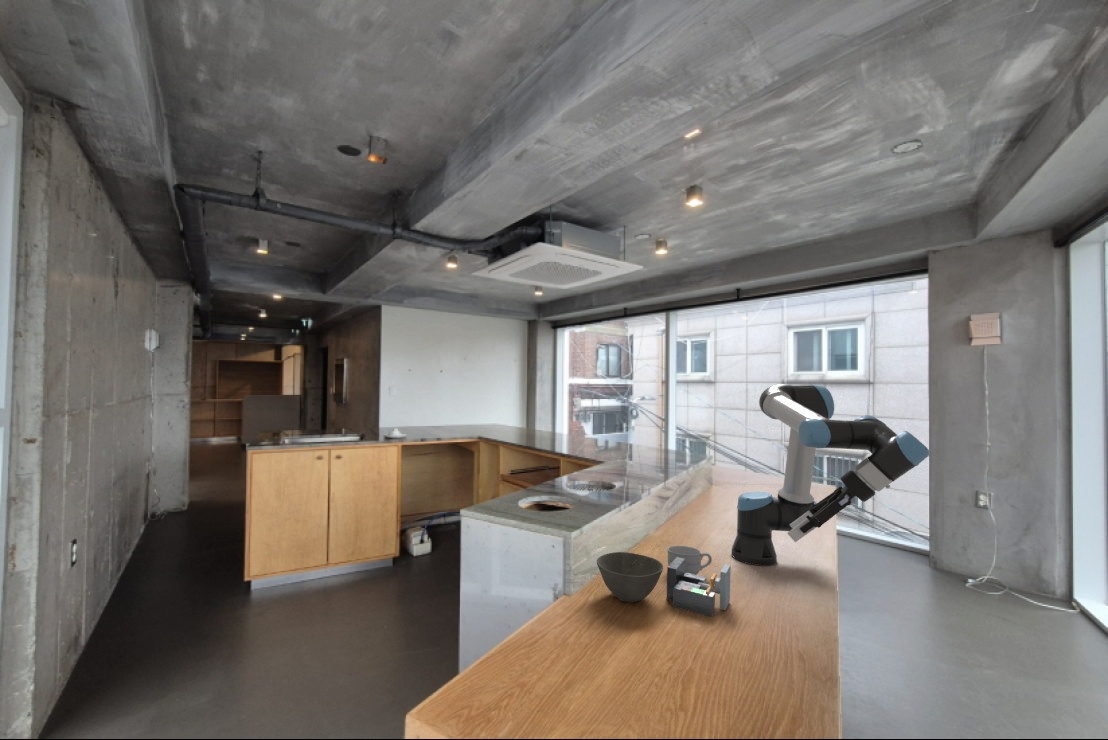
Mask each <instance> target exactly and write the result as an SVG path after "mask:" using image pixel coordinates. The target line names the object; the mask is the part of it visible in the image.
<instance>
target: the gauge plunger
mask: <svg viewBox="0 0 1108 740" xmlns="http://www.w3.org/2000/svg"><path fill="white" fill-rule="evenodd" d="M719 574H720V575H719V577H716V578H715V585H714V586H713V587H712V588H711V590H710V592H714V593H715V594H718V595H719V610H723V611H726V610H727V607H728V605H729V603H730V601H731V564H727V563H724V565H723V567H722V569H721V570H720V573H719ZM698 585H701V589H702V590H707V589H708V587H709V585H710V584H708V583H706V584H704V583H700V582H699V583H698Z"/></svg>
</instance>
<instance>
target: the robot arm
mask: <svg viewBox="0 0 1108 740" xmlns="http://www.w3.org/2000/svg"><path fill="white" fill-rule="evenodd" d="M758 405H759V407H760V410H761V412H762V413H763V414H765V416H767V417H768V418H770V419H771V420H778V421H780V422H782V423H783V424H785V426H787V427H789V428H790V430H789V438H788V439H789V440H788V448H787V453H786V454H787V455H786V461H785V462H786V464H785V471H784V480H783V486H782V488H781V489H779V490H777V497H773V495H772V494H771V493H770V492H766V491H749V492H743V493H742V494H740V495H739V496H738V499H737V500H738V501H737V506H736V510H737V514H736V515H737V521H736V522H737V524H736V526H737V527H736V536H735V539H734V541H733V545H732V546H731V547H732V548H731V556H732V555H733V556H734V557H735V558H736V559H735V558H734V557H733V556H732V557H733V558H734V559H735V560H737V559H738V561H739V560H740V561H739V562H742V561H743V563H745V562H746V563H745V564H749V565H754V566H763V567H765V566H766V567H767V566H774V565H776V564H777V561H778V560H777V552H776V549H775V546H774V543H773V538H772V534H773V533H772V532H773V531H775V532H776V531H777V532H787V533H786V534H787V535H788V536H789V537H790V539H791V540H792V541H793V542H794V543H797V542H798V541H799V540H801V539H802V538H804V537H805V536H806V535H808V534H809V533H811V532H812V531H814V530H815V529H816V528H818V529H819V528H821V527H822V526H823V525H824V524H826V523H827V522H828V521H830V520H831V519H832V518H833V517H834V516H835V515H837V514H838V513H840V512H841V511H842V510H843V509H845V508H847V507H848V506H851V504H852V499H854V497H857V498H858V499H859V500H860V501H862V502H863V503H864V502H868V501H869V500H870V499H871V498H873V497H874V496H876V492H881V491H882V490H883V489H885V488H886V489H889V488H891V484H892V483H894V482H895V481H896V480H898V479H899V478H900V477H902V476H903V475H905V474H907V473H908V472H909V471H911V470H913V469H914V468H915V467H917V466H919V465H920V464H921V463H922V462H923V461H924V460H926V458H928V457H929V456H930V453H931V451H930V450H929V448H928V447H927V446H926V445H925V444H924V443H923V442H922V441H920V440H919V439H918V438H917V437H916V436H914V435H913V434H912V433H910V432H909V431H907V430H903V431H901V432H900V433H896V432H894V430H893V429H892V428H890V427H889V426H887V424H886V423H885V422H883V421H882V420H880V419H878V418H877V417H875V416H873V415H867V414H865V415H861V416H859V417H856V418H855V419H854V420H841V419H831V418H832V417H833V415H834V413H835V400H834V397H833V395H832V393H831V392H830V390H829V389H828V388H827V387H825V386H823V385H815V384H799V383H798V384H796V383H795V384H791V383H790V384H789V383H787V384H786V383H778V384H774V385H771V386H769V387H767V388H766V389H764V391H763V392H762V393H761V394H760V396H759V399H758ZM817 449H839V450H840V449H841V450H862V451H863V450H864V451H865V450H867V451H869V452H870V453H871V455H869V456H867V457H866V458H864V459H863V460H862V461H860V462H858V463H857V464H856V465H855V466H854V467H853V469H850V470H849V471H847V472H846V473H845V474H843V475H842V476H840V481H841V483H843V485H844V486H843V487H842V486H838V487H837V488H835V489H834V491H832V492H831V493H830V494H828V495H826V497H824V498H823V499H821V500H819V501H818V502H816V501H815V498H814V496H813V495H812V494H811V488H812V479H813V474H814V464H815V458H816V451H817ZM875 491H876V492H875Z"/></svg>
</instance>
